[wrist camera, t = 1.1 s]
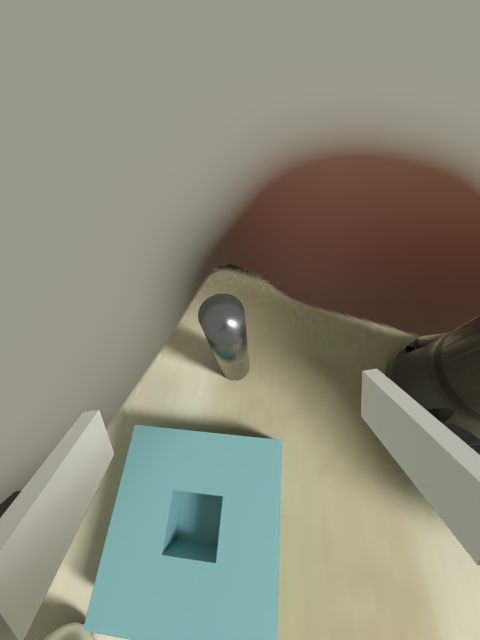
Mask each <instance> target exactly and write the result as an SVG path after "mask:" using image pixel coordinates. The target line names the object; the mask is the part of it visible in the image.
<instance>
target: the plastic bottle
mask: <svg viewBox="0 0 480 640" xmlns="http://www.w3.org/2000/svg"><path fill="white" fill-rule="evenodd" d="M83 627H84V625H83V624H81V623H78V622H71V623H67V624H65V625H63V626H61V627H60V628H58V629H56V630H55V631H53V632H51V633H50V634H49V635H48V636H46V637H45V638H44V639H43V640H94V638H93V636H92V633H91V632H87V631H83Z"/></svg>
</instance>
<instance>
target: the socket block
mask: <svg viewBox="0 0 480 640" xmlns="http://www.w3.org/2000/svg"><path fill="white" fill-rule="evenodd" d="M281 454H282V440H277V439H267V438H258V437H248V436H238V435H229V434H219V433H210V432H200V431H190V430H181V429H171V428H162V427H152V426H142V425H135V426H134V430H133V434H132V438H131V442H130V446H129V450H128V454H127V458H126V461H125V465H124V469H123V473H122V477H121V481H120V485H119V489H118V493H117V497H116V501H115V505H114V509H113V513H112V517H111V521H110V525H109V529H108V533H107V536H106V540H105V544H104V548H103V552H102V556H101V560H100V564H99V568H98V572H97V576H96V580H95V584H94V588H93V592H92V596H91V600H90V604H89V607H88V611H87V615H86V619H85V623H84V627H83V631H87V632H92V633H98V634H103V635H108V636H114V637H119V638H125V639H130V640H277V617H278V576H279V536H280V495H281Z"/></svg>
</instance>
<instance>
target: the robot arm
mask: <svg viewBox="0 0 480 640" xmlns="http://www.w3.org/2000/svg"><path fill="white" fill-rule="evenodd" d="M361 417H362V418H363V419H364V421H365V422H366V423H367V425H368V426H369V427H370V428H371V430H372V431H373V432H374V433H375V435H376V436H377V437H378V439H379V440H380V441H381V442H382V444H383V445H384V446H385V448H386V449H387V450H388V451H389V453H390V454H391V455H392V456H393V458H394V459H395V460H396V462H397V463H398V464H399V465H400V467H401V468H402V469H403V470H404V472H405V473H406V474H407V476H408V477H409V478H410V479H411V481H412V482H413V483H414V485H415V486H416V487H417V488H418V490H419V491H420V492H421V493H422V495H423V496H424V497H425V499H426V500H427V501H428V502H429V504H430V505H431V506H432V508H433V509H434V510H435V511H436V513H437V514H438V515H439V516H440V518H441V519H442V520H443V522H444V523H445V524H446V525H447V527H448V528H449V529H450V531H451V532H452V533H453V534H454V536H455V537H456V538H457V539H458V541H459V542H460V543H461V545H462V546H463V547H464V548H465V550H466V551H467V552H468V554H469V555H470V556H471V557H472V559H473V560H474V561H475V562H476V564H477V565H480V316H478V317H477V318H475V319H473V320H471V321H469V322H468V323H466V324H464V325H462V326H461V327H459V328H457V329H455V330H454V331H452V332H451V333H445V334H437V335H429V336H423V337H419V338H417V339H414V340H412V341H410V342H408V343H407V344H405V345H404V346H402V347H401V348H399V349H398V350H397V351H396V352H395V353H394V354H393V356H392V357H391V359H390V361H389V363H388V366H387V370H386V376H385V375H384V374H383V373H382V372H381V371H379V370H378V369H371V370H364V371H362V397H361ZM113 456H114V451H113V448H112V445H111V443H110V440H109V437H108V434H107V431H106V428H105V426H104V423H103V420H102V417H101V414H100V411H99V410H94V411H87V412H83V413H82V414H81V415H80V417H79V418H78V419H77V421H76V422H75V423H74V425H73V426H72V427H71V428H70V430H69V431H68V432H67V433H66V435H65V436H64V437H63V439H62V440H61V441H60V442H59V444H58V445H57V446H56V448H55V449H54V450H53V451H52V453H51V454H50V455H49V456H48V458H47V459H46V460H45V462H44V463H43V464H42V466H41V467H40V468H39V469H38V470H37V472H36V473H35V474H34V476H33V477H32V478H31V479H30V481H29V482H28V483H27V485H26V486H25V487H24V489H23V490H22V491H17V492H14V493H13V494H12V495H11V496H10V497H8V498H7V499H6V500H5V501H4V502H3V503H1V504H0V640H24V639H25V637H26V635H27V633H28V631H29V629H30V627H31V625H32V623H33V621H34V618H35V616H36V614H37V612H38V610H39V608H40V606H41V604H42V602H43V600H44V598H45V596H46V594H47V592H48V590H49V588H50V586H51V583H52V581H53V579H54V577H55V575H56V573H57V571H58V569H59V567H60V565H61V563H62V561H63V559H64V557H65V555H66V553H67V551H68V549H69V546H70V544H71V542H72V540H73V538H74V536H75V534H76V532H77V530H78V528H79V526H80V524H81V522H82V520H83V518H84V516H85V514H86V512H87V509H88V507H89V505H90V503H91V501H92V499H93V497H94V495H95V493H96V491H97V489H98V487H99V485H100V483H101V481H102V479H103V477H104V475H105V472H106V470H107V468H108V466H109V464H110V462H111V460H112V458H113Z"/></svg>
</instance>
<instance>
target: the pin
mask: <svg viewBox="0 0 480 640" xmlns="http://www.w3.org/2000/svg"><path fill="white" fill-rule="evenodd" d="M198 319H199V322H200V325H201V327H202V329H203V331H204V333H205V336H206V338H207V340H208V342H209V344H210V346H211V349H212V351H213V353H214V355H215V357H216V360H217V362H218V364H219V366H220V368H221V370H222V373H223V374H224V376H225V377H226V378H228V379H230V380H240V379H242V378H244V377H245V376H246V375H247V373H248V371H249V358H248V347H247V335H246V324H245V313H244V307H243V305H242V303H241V302H240V301H239V300H238V299H237V298H236V297H234V296H232V295H228V294H217V295H214V296H211V297H209V298H208V299H207V300H205V301H204V302H203V304H202V305H201V307H200V309H199V313H198Z"/></svg>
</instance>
